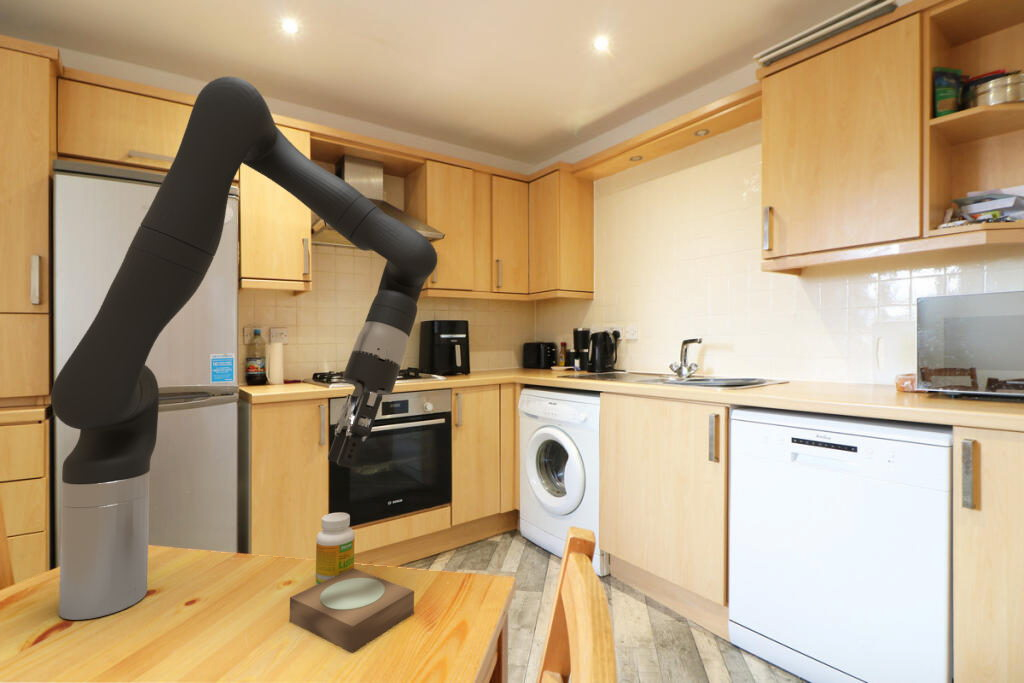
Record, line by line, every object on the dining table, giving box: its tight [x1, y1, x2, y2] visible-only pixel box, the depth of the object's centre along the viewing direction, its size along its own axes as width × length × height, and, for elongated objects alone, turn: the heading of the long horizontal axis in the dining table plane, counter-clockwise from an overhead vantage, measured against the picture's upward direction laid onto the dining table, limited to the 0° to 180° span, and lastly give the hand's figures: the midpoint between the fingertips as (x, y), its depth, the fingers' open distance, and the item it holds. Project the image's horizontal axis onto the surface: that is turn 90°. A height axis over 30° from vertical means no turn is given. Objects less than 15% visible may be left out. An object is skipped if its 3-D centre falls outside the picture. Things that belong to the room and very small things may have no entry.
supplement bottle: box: [315, 512, 355, 585], centre depth 73 cm, size 5×5×10 cm
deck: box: [289, 567, 415, 654], centre depth 63 cm, size 12×10×3 cm
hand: (339, 464), depth 69 cm, fingers open, 8 cm apart
